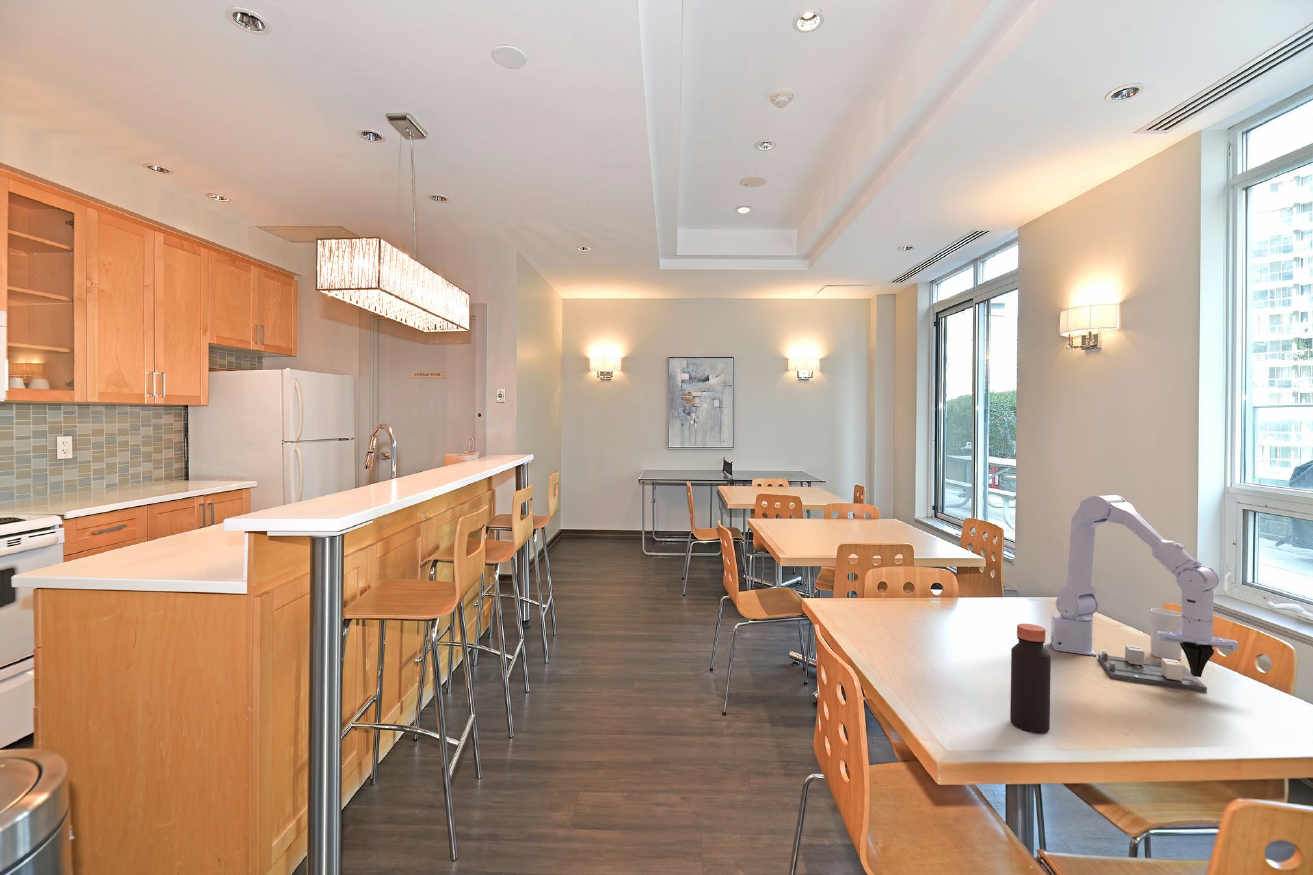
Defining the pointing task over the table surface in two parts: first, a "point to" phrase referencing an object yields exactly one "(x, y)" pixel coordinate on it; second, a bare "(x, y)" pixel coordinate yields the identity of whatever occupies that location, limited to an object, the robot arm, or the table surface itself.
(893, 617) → the table surface
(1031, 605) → the table surface
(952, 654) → the table surface
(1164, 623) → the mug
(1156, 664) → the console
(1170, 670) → the fader near
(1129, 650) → the fader far
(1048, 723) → the bottle
